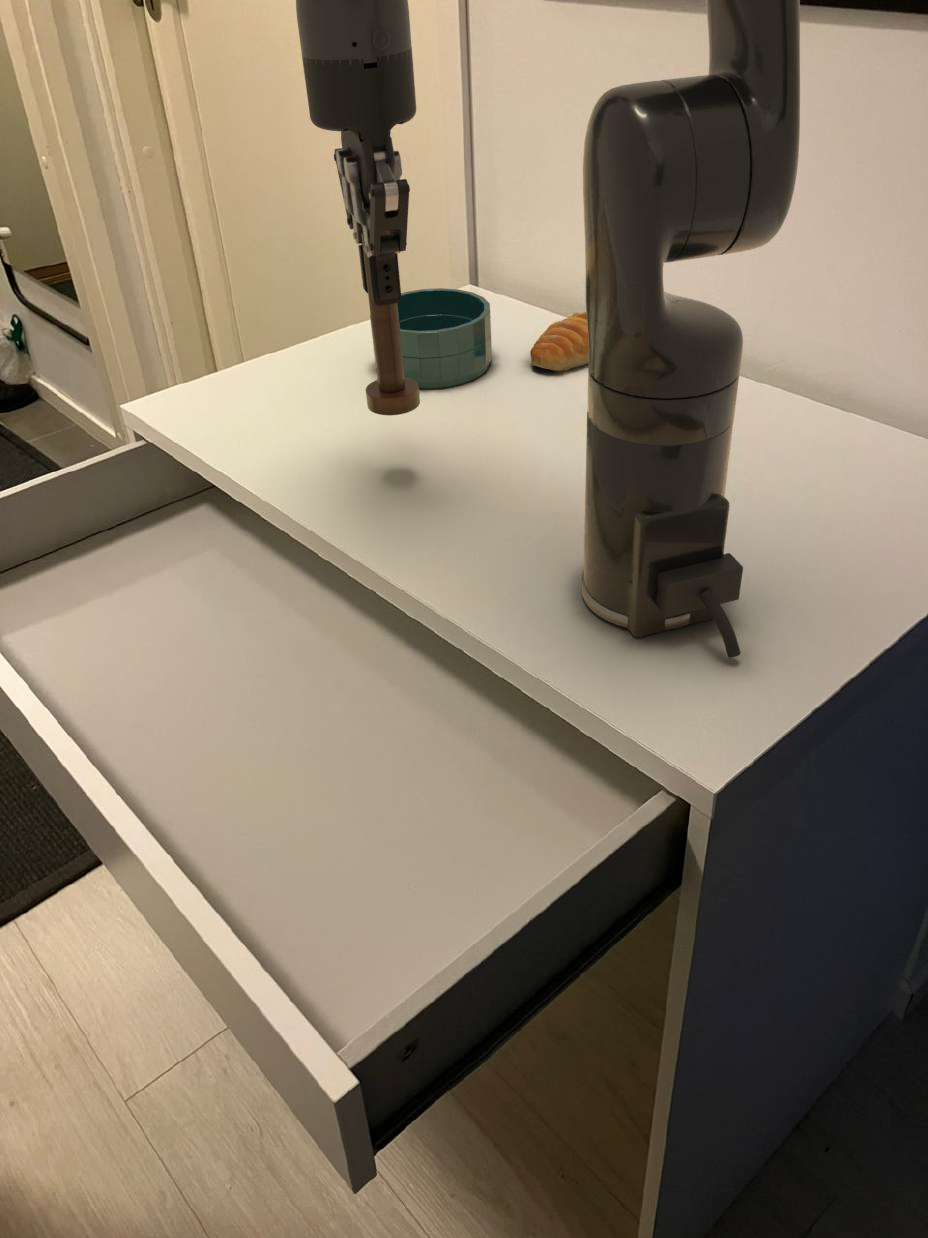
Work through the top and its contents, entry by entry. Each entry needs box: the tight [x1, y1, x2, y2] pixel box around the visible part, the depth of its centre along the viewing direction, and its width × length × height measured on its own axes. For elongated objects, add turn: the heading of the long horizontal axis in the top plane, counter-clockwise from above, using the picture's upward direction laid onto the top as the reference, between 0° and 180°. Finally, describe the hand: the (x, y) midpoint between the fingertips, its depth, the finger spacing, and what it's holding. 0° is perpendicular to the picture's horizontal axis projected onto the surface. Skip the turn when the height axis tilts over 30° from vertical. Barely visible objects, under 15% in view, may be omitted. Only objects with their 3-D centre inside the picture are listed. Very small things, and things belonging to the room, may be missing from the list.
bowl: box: [369, 287, 493, 390], centre depth 105 cm, size 12×12×6 cm
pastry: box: [529, 311, 589, 373], centre depth 106 cm, size 9×7×4 cm
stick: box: [361, 230, 421, 416], centre depth 81 cm, size 4×4×14 cm
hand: (382, 296), depth 79 cm, fingers closed on stick, 2 cm apart
